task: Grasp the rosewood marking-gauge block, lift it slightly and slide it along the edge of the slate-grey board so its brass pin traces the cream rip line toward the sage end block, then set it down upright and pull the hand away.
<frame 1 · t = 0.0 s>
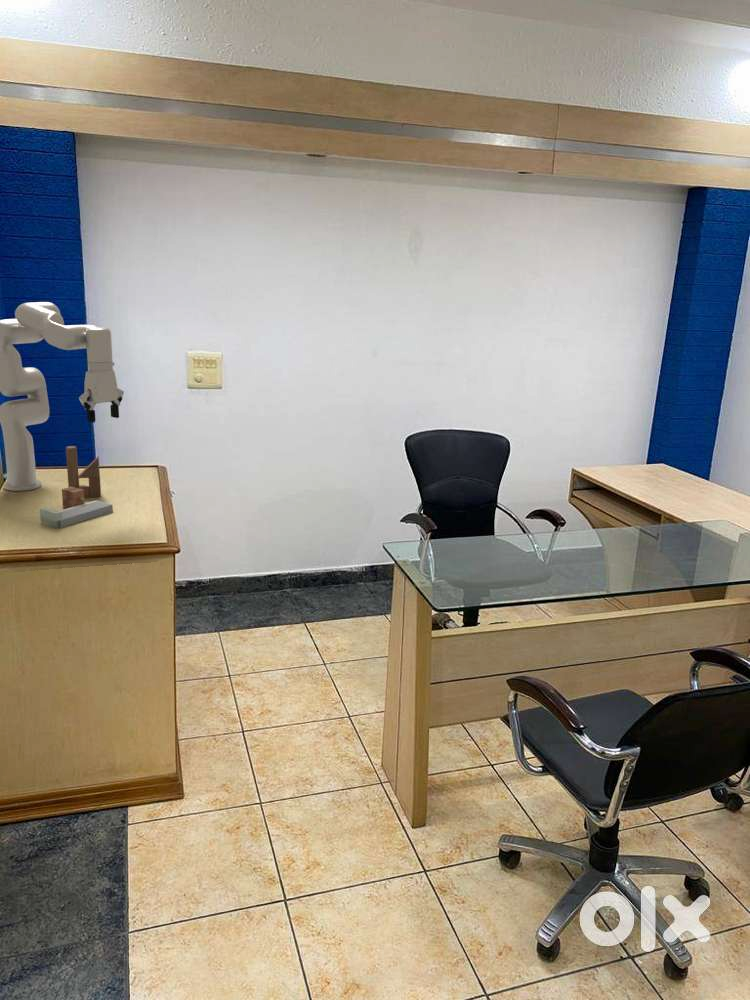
hand: (103, 419, 258), 31 cm above the table, tool pointing down, fingers open, 9 cm apart
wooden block: (84, 496, 281), on the table
gauge block: (74, 509, 267), on the table
grey board: (77, 517, 259), on the table
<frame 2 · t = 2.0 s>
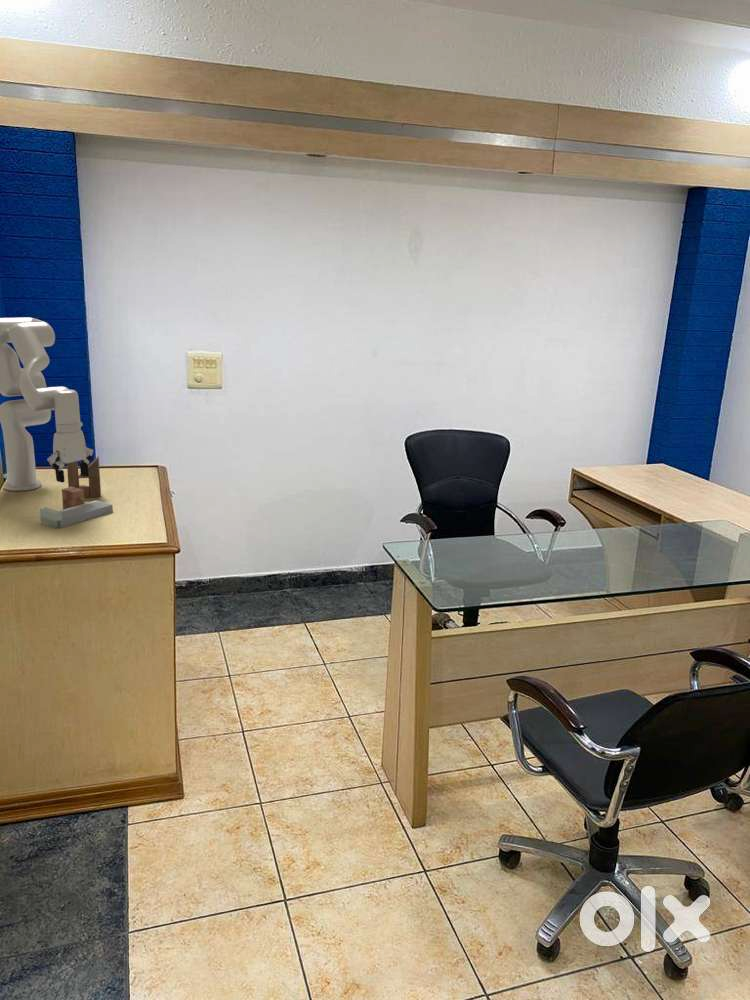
hand: (72, 478, 263), 11 cm above the table, tool pointing down, fingers open, 9 cm apart
nothing on the table moved.
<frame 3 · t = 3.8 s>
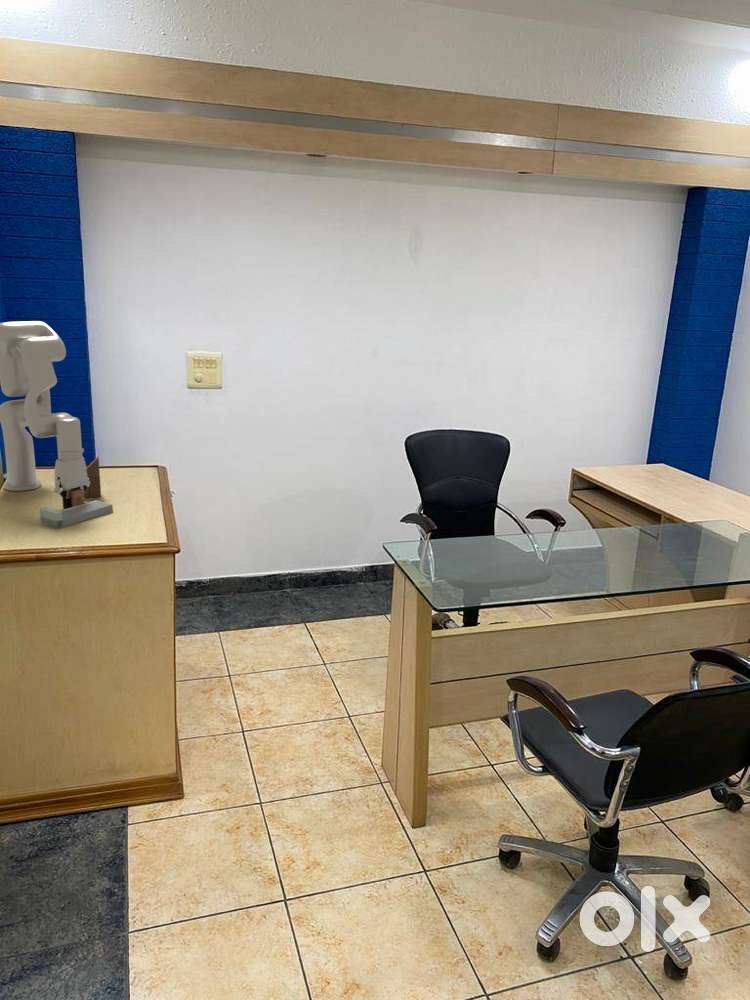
hand: (73, 506, 266), 1 cm above the table, tool pointing down, fingers closed on gauge block, 4 cm apart
gauge block: (74, 509, 267), on the table, touching gripper
everything else where it was.
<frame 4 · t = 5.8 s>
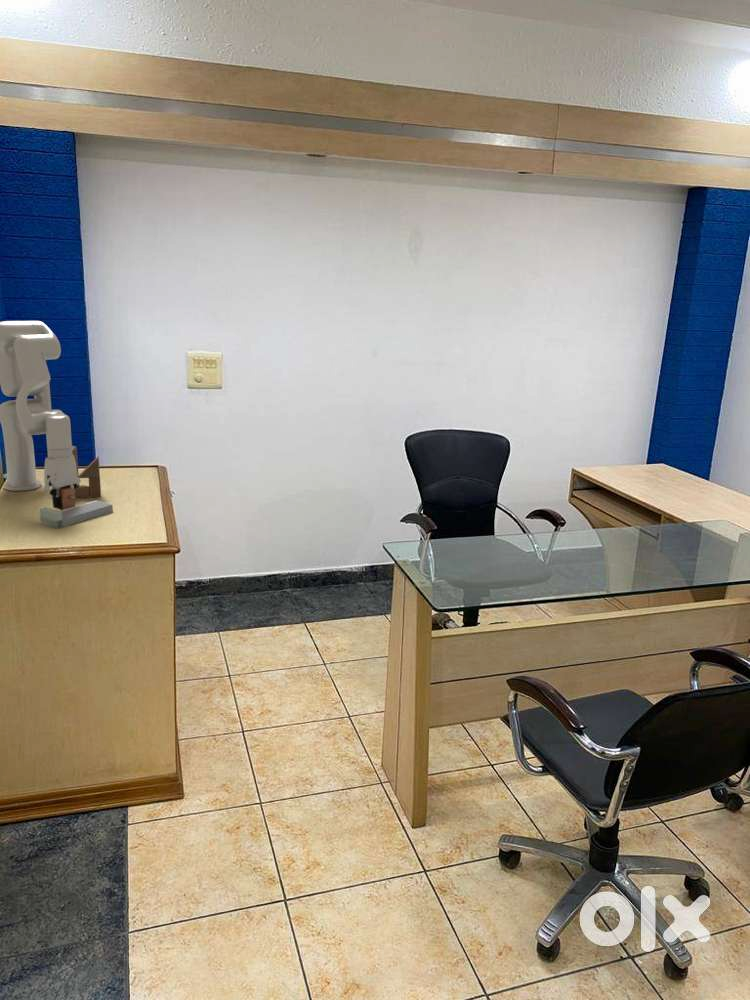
hand: (63, 505, 263), 2 cm above the table, tool pointing down, fingers closed on gauge block, 4 cm apart
gauge block: (64, 507, 263), point 1 cm above the table, touching gripper
everything else where it was.
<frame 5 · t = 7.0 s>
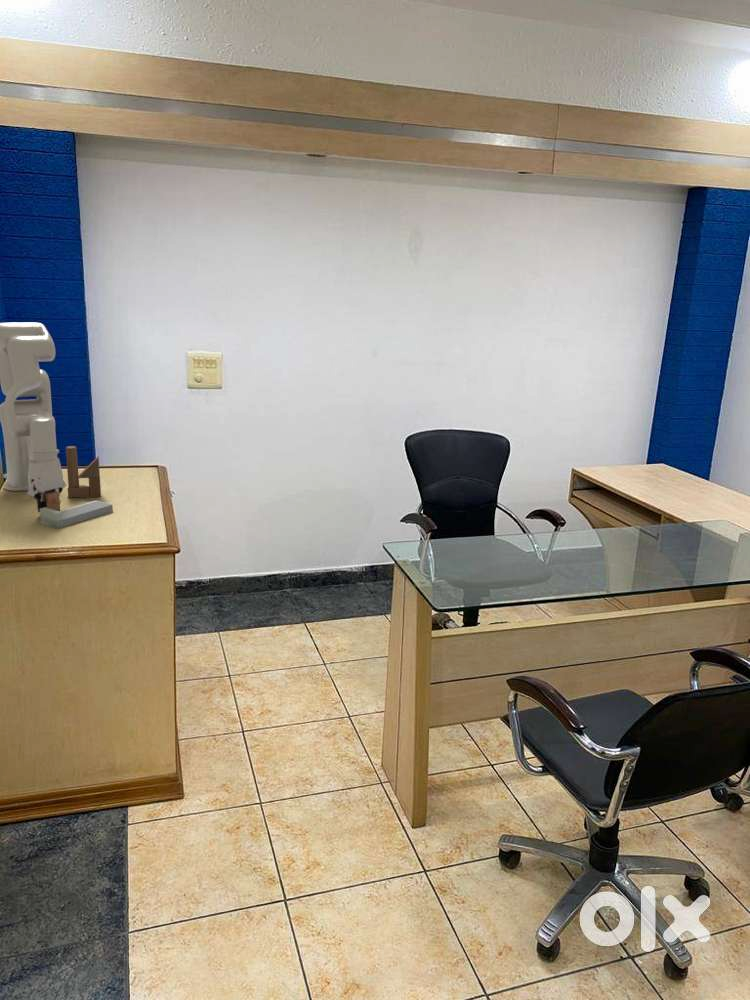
hand: (48, 509, 258), 2 cm above the table, tool pointing down, fingers closed on gauge block, 4 cm apart
gauge block: (49, 512, 258), point 1 cm above the table, touching gripper
everything else where it was.
when the fingers open (2 cm above the table, at t = 8.1 s): gauge block stays where it is, on the table.
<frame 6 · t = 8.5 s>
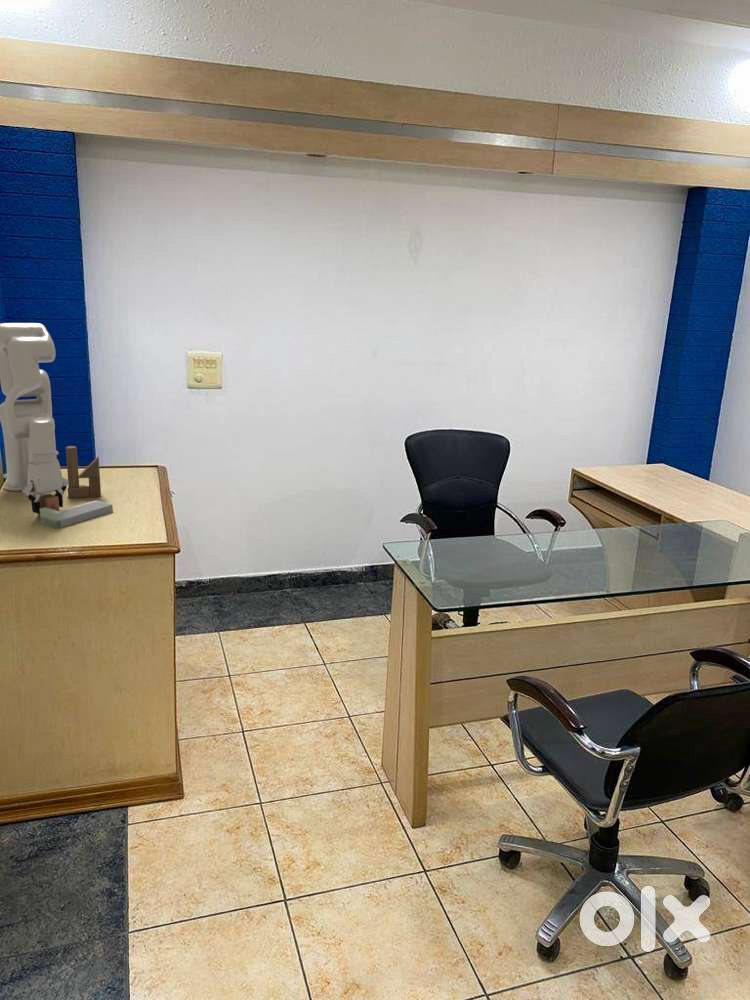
hand: (48, 509, 258), 2 cm above the table, tool pointing down, fingers open, 8 cm apart
gauge block: (48, 516, 259), on the table
everything else where it was.
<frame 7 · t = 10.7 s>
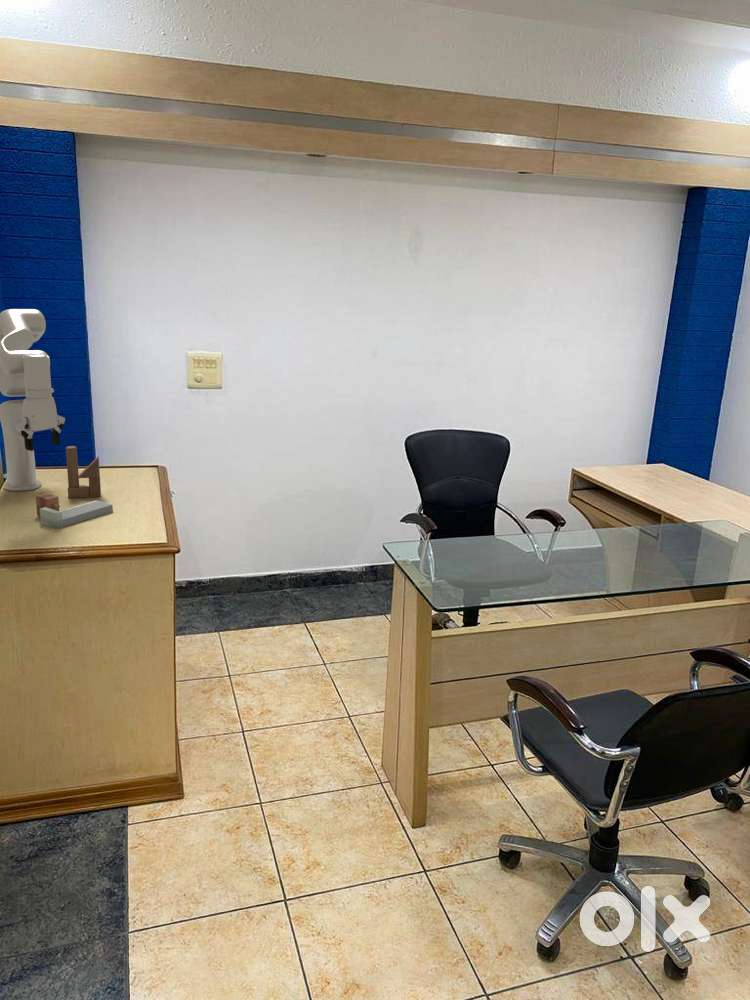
hand: (43, 447, 252), 23 cm above the table, tool pointing down, fingers open, 9 cm apart
nothing on the table moved.
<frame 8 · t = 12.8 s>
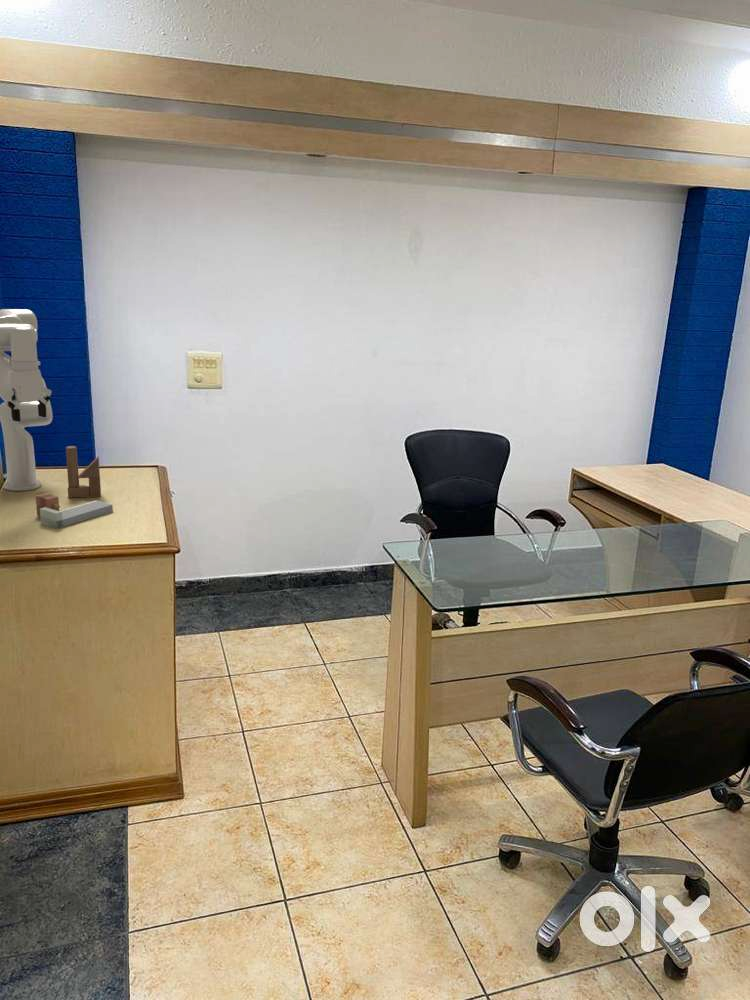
hand: (29, 418, 258), 30 cm above the table, tool pointing down, fingers open, 9 cm apart
nothing on the table moved.
at the end: gauge block 0.4 cm from the target spot, on the table; gauge block tilted 0°; the gripper is holding nothing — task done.
